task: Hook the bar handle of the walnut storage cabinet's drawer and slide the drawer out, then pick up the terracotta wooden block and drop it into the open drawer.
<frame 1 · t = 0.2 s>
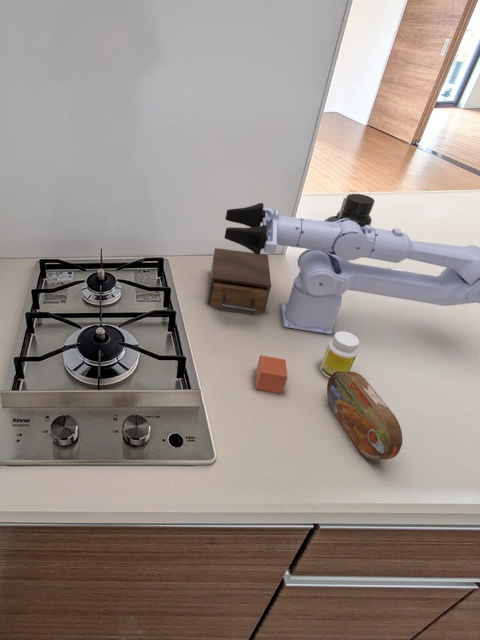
hand: (225, 223, 88), 21 cm above the worktop, tool horizontal, fingers open, 7 cm apart
cabinet: (235, 291, 104), on the worktop
drawer: (238, 289, 99), point 4 cm above the worktop, slide at 0.5 cm
block: (268, 382, 80), on the worktop
supplement bottle: (332, 372, 83), on the worktop
ink bottle: (346, 237, 126), on the worktop
beverage cup: (321, 273, 111), on the worktop
tin: (353, 430, 72), on the worktop
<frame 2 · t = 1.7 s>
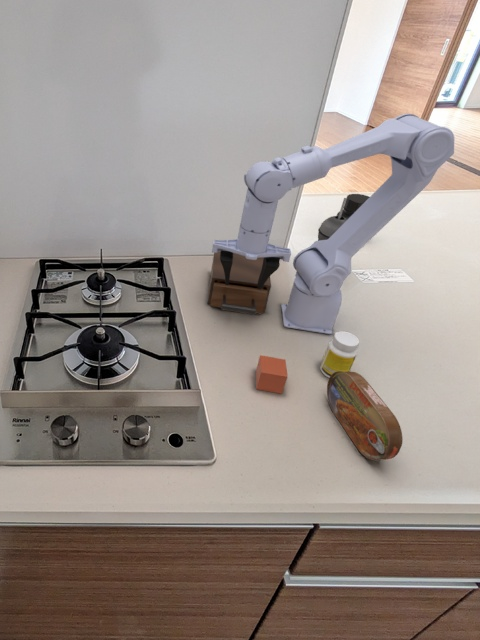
hand: (243, 284, 90), 9 cm above the worktop, tool pointing down, fingers open, 6 cm apart
nothing on the worktop moved.
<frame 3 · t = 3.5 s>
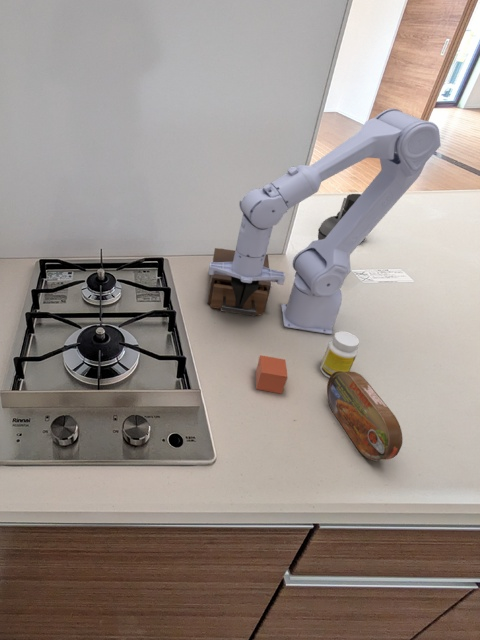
hand: (238, 305, 92), 4 cm above the worktop, tool pointing down, fingers closed, pressing on drawer
drawer: (238, 290, 98), point 4 cm above the worktop, slide at 0.9 cm, touching gripper
everything else where it was.
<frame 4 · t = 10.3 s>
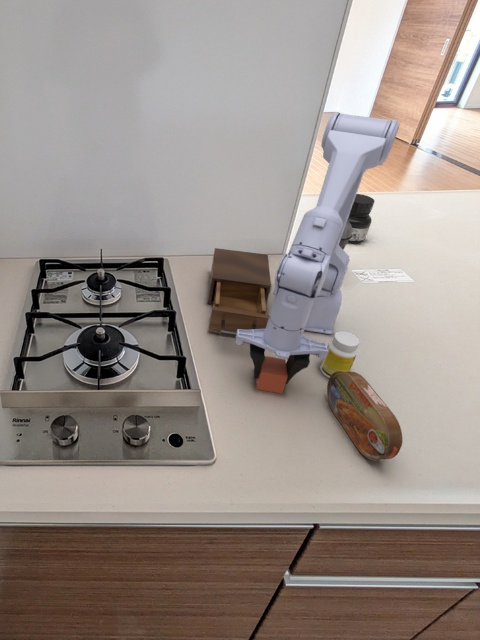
hand: (269, 377, 80), 1 cm above the worktop, tool pointing down, fingers closed on block, 4 cm apart
drawer: (238, 312, 92), point 4 cm above the worktop, slide at 9.2 cm
block: (268, 382, 80), on the worktop, touching gripper
everything else where it was.
when the fingers open (6 cm above the worktop, at t = 15.7 s): block stays where it is, resting on drawer.
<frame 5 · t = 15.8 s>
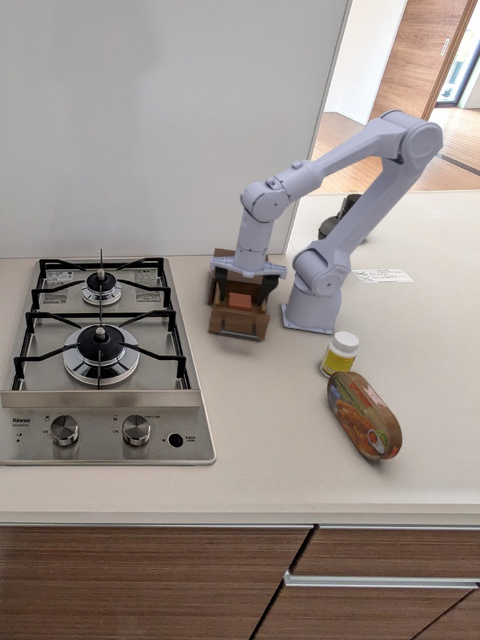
hand: (240, 300, 91), 6 cm above the worktop, tool pointing down, fingers open, 7 cm apart
drawer: (238, 312, 92), point 4 cm above the worktop, slide at 9.2 cm, touching block
block: (236, 316, 93), point 2 cm above the worktop, touching drawer
everything else where it was.
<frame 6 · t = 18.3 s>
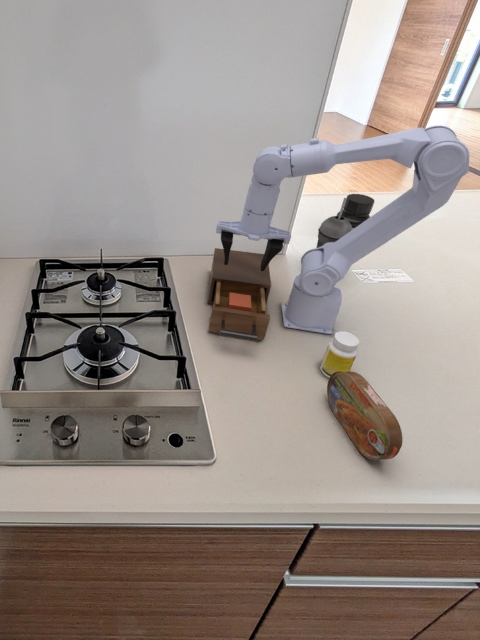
hand: (243, 265, 94), 10 cm above the worktop, tool pointing down, fingers open, 7 cm apart
nothing on the worktop moved.
at the end: drawer slide at 9.2 cm; block inside the target area in the drawer (6.8 cm from its centre), point 1.9 cm above the cabinet's base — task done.
